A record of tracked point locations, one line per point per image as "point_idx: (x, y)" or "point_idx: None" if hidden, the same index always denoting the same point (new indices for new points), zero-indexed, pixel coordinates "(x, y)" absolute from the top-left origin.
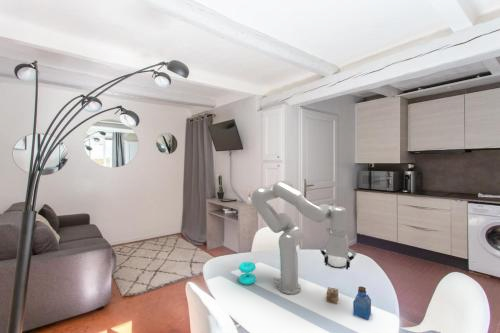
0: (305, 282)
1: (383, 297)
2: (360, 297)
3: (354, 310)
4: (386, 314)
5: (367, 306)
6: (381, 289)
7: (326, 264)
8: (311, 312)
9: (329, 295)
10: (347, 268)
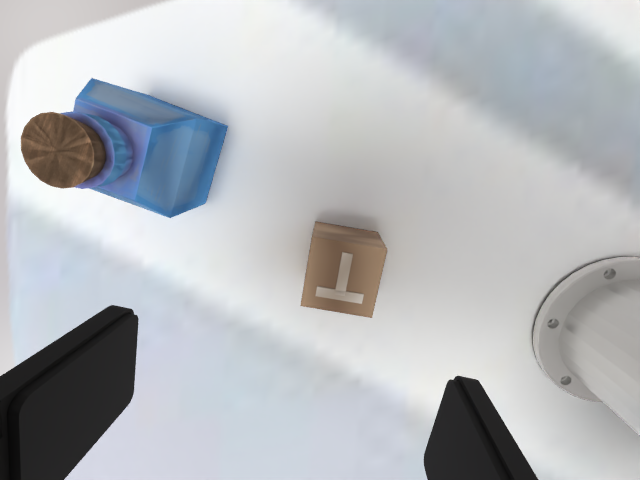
0: None
1: None
2: (119, 113)
3: (210, 120)
4: None
5: (97, 80)
6: None
7: (466, 383)
8: (482, 85)
9: (364, 240)
10: (104, 313)
